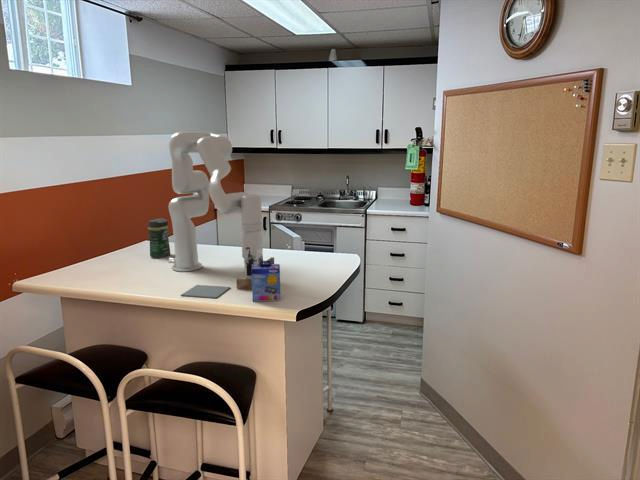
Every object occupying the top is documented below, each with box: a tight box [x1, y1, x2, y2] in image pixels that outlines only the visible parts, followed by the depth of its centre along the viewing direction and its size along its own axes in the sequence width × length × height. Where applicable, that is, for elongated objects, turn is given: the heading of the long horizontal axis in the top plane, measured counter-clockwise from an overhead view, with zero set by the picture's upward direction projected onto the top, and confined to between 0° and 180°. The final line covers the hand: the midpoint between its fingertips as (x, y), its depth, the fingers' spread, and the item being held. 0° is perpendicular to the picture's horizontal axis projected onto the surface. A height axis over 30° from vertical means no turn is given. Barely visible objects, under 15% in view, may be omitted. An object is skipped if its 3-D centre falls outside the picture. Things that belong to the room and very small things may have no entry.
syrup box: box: [243, 248, 264, 279], centre depth 180 cm, size 6×6×14 cm
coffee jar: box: [147, 217, 171, 259], centre depth 228 cm, size 10×8×19 cm
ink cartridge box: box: [251, 260, 282, 303], centre depth 164 cm, size 10×6×14 cm, turn 95°
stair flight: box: [236, 256, 275, 291], centre depth 180 cm, size 11×11×10 cm
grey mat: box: [180, 284, 231, 300], centre depth 175 cm, size 14×12×1 cm
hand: (254, 272), depth 180 cm, fingers closed on syrup box, 5 cm apart
